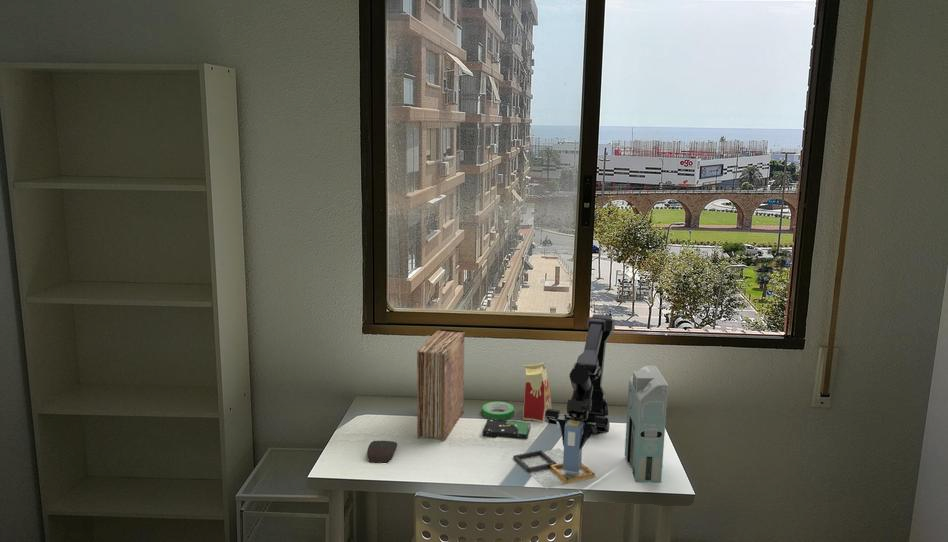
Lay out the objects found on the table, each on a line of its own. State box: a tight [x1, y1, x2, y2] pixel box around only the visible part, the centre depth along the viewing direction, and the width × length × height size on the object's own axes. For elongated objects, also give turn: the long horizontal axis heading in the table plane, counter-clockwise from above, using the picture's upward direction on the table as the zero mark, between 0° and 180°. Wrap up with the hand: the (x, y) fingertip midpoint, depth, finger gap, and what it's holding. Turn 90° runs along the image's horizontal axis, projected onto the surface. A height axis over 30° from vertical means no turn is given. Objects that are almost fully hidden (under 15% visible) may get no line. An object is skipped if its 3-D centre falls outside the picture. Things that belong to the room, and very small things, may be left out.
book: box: [416, 328, 465, 442], centre depth 261 cm, size 25×9×30 cm, turn 166°
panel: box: [511, 448, 597, 489], centre depth 234 cm, size 17×21×2 cm
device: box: [624, 365, 669, 483], centre depth 231 cm, size 16×8×30 cm, turn 0°
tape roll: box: [482, 401, 515, 420], centre depth 274 cm, size 11×11×3 cm
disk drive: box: [482, 418, 532, 440], centre depth 259 cm, size 10×3×15 cm
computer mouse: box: [366, 440, 398, 464], centre depth 242 cm, size 8×14×4 cm, turn 175°
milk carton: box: [522, 362, 552, 423], centre depth 271 cm, size 9×9×20 cm
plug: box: [563, 420, 584, 472], centre depth 229 cm, size 5×4×14 cm
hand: (572, 447), depth 228 cm, fingers closed on plug, 4 cm apart
